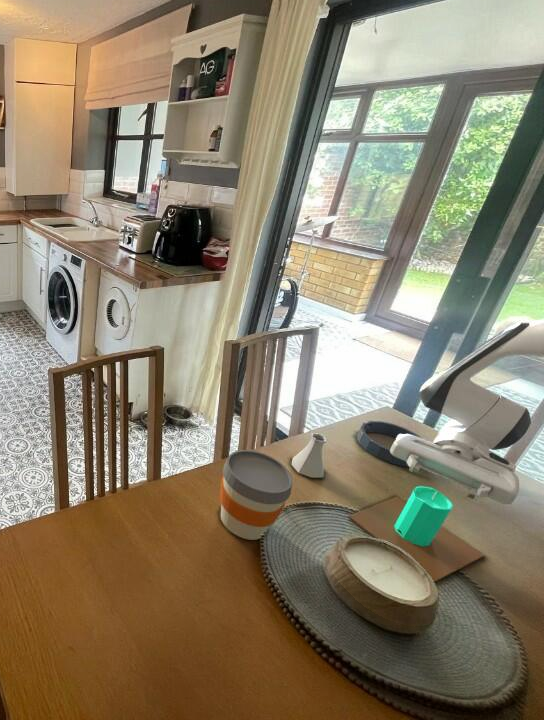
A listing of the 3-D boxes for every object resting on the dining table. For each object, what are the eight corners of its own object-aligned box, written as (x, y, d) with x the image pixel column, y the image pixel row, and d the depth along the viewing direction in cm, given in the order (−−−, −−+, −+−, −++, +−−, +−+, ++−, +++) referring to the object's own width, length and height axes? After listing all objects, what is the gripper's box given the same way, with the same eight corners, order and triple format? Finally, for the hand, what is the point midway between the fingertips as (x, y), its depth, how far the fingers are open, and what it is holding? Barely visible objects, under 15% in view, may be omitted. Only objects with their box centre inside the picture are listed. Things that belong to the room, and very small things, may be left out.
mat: (483, 556, 82) (484, 555, 82) (432, 583, 77) (433, 581, 77) (396, 497, 95) (396, 496, 95) (348, 516, 91) (348, 515, 90)
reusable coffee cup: (242, 493, 97) (257, 443, 90) (289, 536, 86) (309, 483, 80) (199, 508, 93) (212, 457, 86) (242, 555, 82) (260, 501, 76)
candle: (394, 517, 90) (416, 476, 85) (430, 531, 87) (455, 490, 81) (394, 535, 86) (417, 493, 81) (432, 551, 82) (458, 509, 77)
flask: (295, 475, 102) (306, 443, 97) (287, 456, 108) (298, 425, 104) (328, 481, 100) (341, 449, 96) (318, 461, 106) (331, 430, 102)
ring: (437, 458, 107) (443, 448, 105) (401, 472, 102) (406, 462, 101) (379, 426, 119) (383, 416, 118) (344, 437, 115) (348, 427, 113)
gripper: (404, 421, 101) (387, 445, 93) (527, 469, 86) (519, 501, 78) (394, 442, 103) (377, 466, 96) (512, 491, 89) (502, 524, 81)
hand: (442, 482), depth 87 cm, fingers open, 8 cm apart
